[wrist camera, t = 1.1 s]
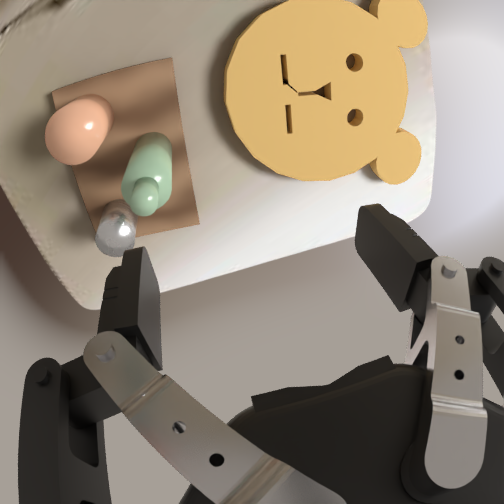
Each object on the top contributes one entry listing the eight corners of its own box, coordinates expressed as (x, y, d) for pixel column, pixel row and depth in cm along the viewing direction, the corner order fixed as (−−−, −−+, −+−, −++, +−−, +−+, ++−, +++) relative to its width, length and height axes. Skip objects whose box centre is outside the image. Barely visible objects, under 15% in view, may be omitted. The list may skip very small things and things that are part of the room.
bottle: (130, 136, 34) (109, 185, 23) (168, 128, 35) (165, 172, 24) (138, 171, 37) (125, 232, 26) (175, 163, 38) (177, 222, 27)
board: (55, 89, 29) (51, 91, 28) (172, 57, 31) (171, 57, 30) (102, 239, 43) (100, 244, 42) (198, 218, 45) (199, 224, 44)
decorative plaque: (238, 204, 46) (408, 174, 49) (242, 213, 44) (417, 181, 47) (206, -16, 26) (414, -4, 29) (208, -20, 24) (426, -4, 27)
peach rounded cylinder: (60, 103, 29) (38, 116, 23) (108, 87, 30) (93, 97, 24) (72, 149, 33) (54, 171, 28) (118, 136, 34) (107, 156, 28)
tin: (98, 203, 38) (89, 228, 34) (132, 195, 39) (127, 219, 34) (109, 233, 41) (103, 260, 37) (142, 226, 42) (139, 252, 37)
